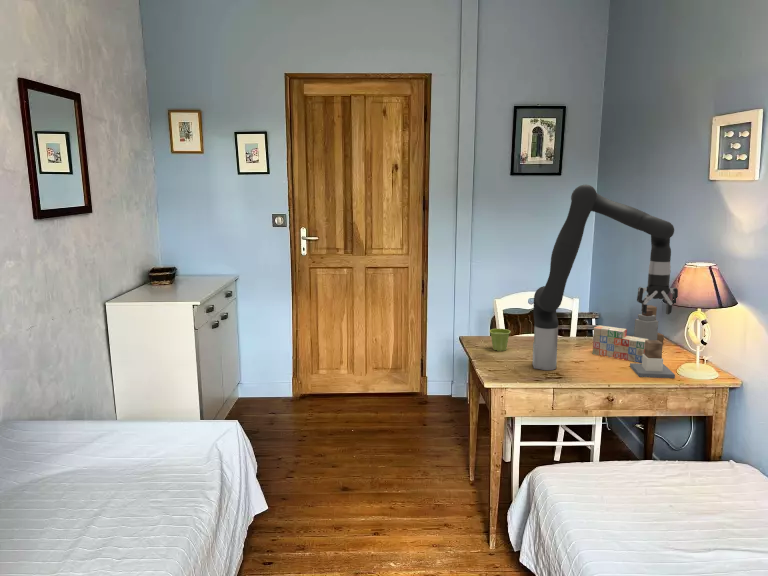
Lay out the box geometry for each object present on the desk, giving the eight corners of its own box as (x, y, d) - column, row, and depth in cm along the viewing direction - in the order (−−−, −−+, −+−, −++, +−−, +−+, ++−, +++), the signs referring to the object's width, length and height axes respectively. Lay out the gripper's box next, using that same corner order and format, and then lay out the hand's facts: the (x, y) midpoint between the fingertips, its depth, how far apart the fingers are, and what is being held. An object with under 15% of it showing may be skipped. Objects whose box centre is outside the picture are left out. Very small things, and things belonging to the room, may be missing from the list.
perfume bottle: (633, 347, 260) (635, 309, 256) (644, 346, 262) (647, 308, 259) (644, 351, 253) (647, 312, 250) (656, 350, 256) (659, 311, 253)
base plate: (639, 377, 220) (640, 360, 219) (629, 366, 233) (630, 351, 232) (674, 378, 218) (676, 362, 217) (663, 367, 231) (664, 352, 230)
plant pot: (505, 353, 253) (506, 334, 252) (485, 350, 258) (486, 332, 256) (512, 348, 261) (513, 330, 259) (493, 345, 266) (493, 327, 264)
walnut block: (648, 358, 222) (649, 343, 221) (644, 354, 227) (645, 339, 226) (661, 358, 222) (662, 343, 221) (657, 354, 226) (658, 340, 225)
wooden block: (658, 341, 269) (660, 304, 266) (663, 344, 265) (666, 306, 262) (639, 342, 268) (642, 305, 265) (645, 345, 264) (647, 307, 261)
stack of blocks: (647, 360, 242) (649, 332, 240) (642, 363, 237) (645, 335, 235) (597, 351, 255) (598, 324, 253) (591, 354, 251) (593, 327, 249)
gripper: (675, 271, 221) (672, 312, 224) (636, 271, 223) (634, 311, 226) (682, 274, 214) (678, 316, 217) (642, 273, 216) (639, 315, 219)
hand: (656, 313), depth 221 cm, fingers open, 8 cm apart
